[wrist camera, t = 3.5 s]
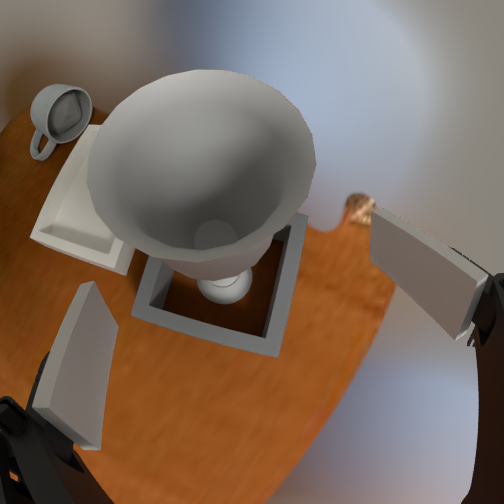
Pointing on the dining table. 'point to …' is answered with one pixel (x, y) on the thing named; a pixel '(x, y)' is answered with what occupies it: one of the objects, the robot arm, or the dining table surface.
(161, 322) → the charcoal collar
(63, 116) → the ceramic mug
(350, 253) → the dining table surface
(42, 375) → the robot arm
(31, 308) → the dining table surface
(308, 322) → the dining table surface
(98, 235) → the off-white tray
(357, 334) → the dining table surface
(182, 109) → the chalice
